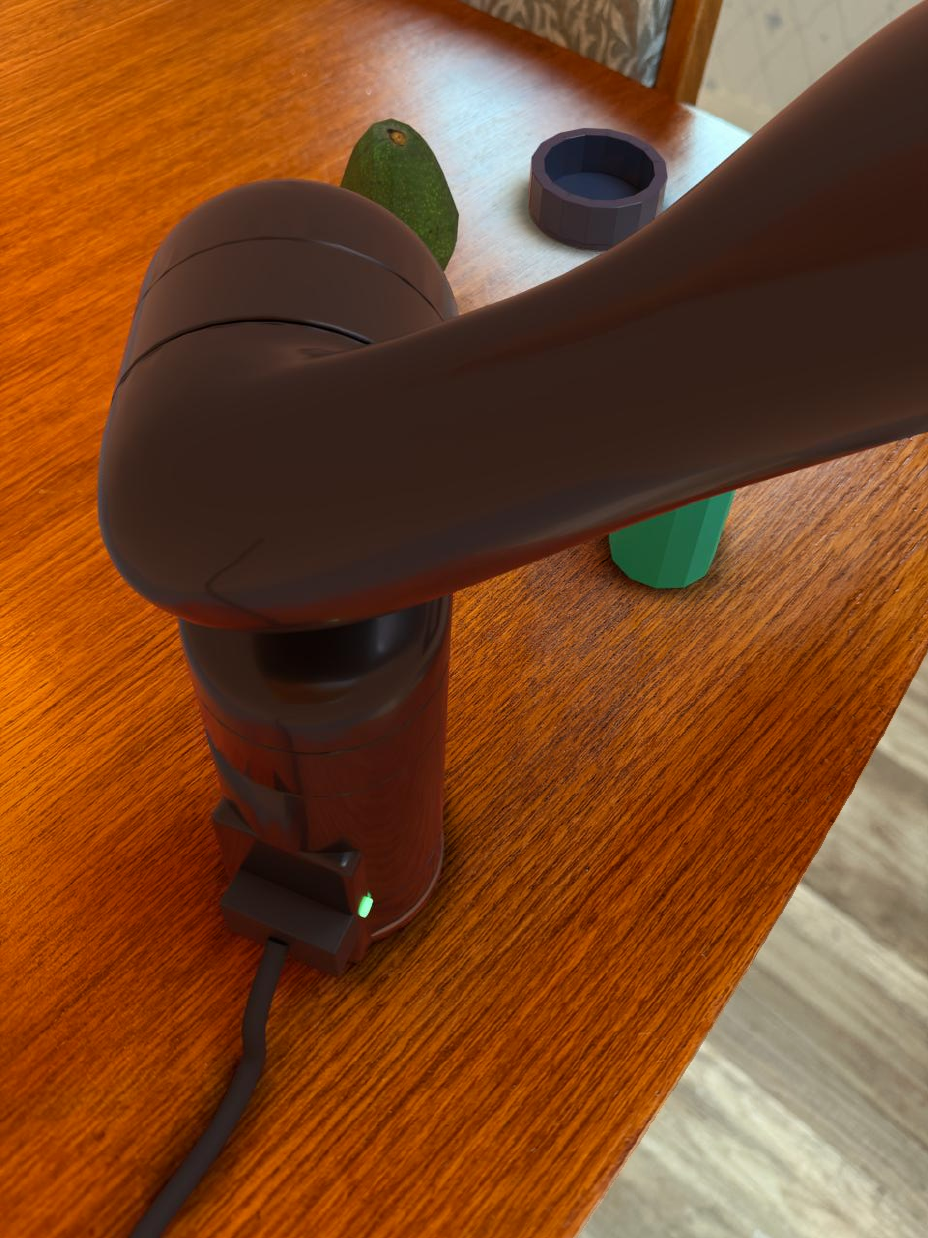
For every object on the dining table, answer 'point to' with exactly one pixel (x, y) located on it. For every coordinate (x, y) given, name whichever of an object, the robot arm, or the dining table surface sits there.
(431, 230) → the avocado
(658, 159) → the bowl
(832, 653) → the dining table surface
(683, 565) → the candle
